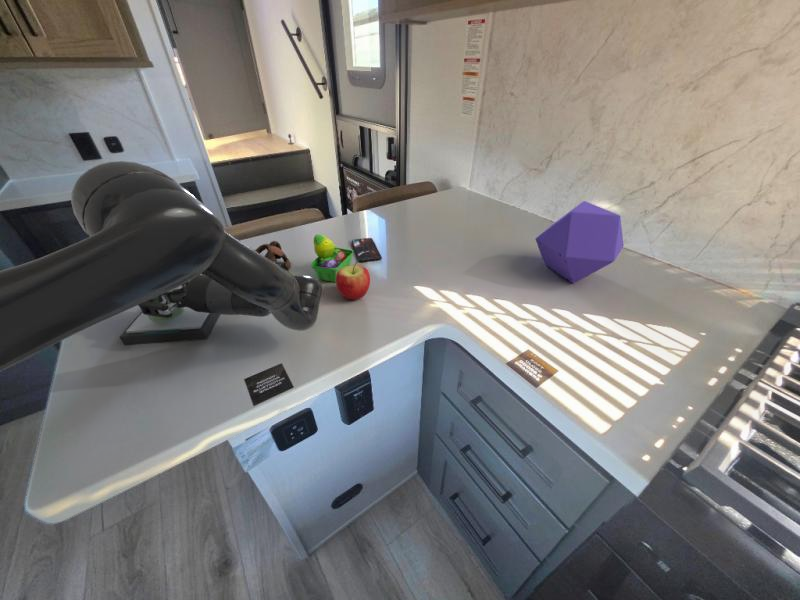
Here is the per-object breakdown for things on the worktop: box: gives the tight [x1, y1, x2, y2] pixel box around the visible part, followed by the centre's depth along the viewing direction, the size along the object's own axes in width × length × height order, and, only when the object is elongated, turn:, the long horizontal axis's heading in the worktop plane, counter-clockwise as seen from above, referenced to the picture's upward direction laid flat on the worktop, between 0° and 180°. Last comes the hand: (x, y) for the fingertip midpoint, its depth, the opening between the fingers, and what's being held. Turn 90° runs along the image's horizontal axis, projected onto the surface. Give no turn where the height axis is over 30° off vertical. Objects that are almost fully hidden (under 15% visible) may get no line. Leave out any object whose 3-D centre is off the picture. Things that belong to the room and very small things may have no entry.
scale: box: [119, 307, 221, 346], centre depth 71 cm, size 16×16×3 cm
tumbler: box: [147, 294, 185, 322], centre depth 64 cm, size 7×7×10 cm
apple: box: [335, 259, 371, 300], centre depth 78 cm, size 8×8×10 cm
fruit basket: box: [310, 234, 354, 283], centre depth 86 cm, size 11×9×11 cm
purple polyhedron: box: [535, 200, 625, 285], centre depth 87 cm, size 22×20×20 cm
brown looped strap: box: [254, 240, 292, 271], centre depth 90 cm, size 12×10×8 cm
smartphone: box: [351, 237, 383, 263], centre depth 101 cm, size 7×1×15 cm
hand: (144, 287), depth 64 cm, fingers closed on tumbler, 6 cm apart
